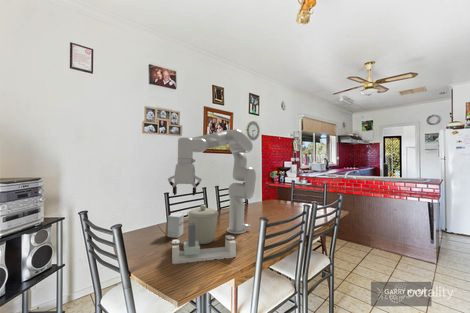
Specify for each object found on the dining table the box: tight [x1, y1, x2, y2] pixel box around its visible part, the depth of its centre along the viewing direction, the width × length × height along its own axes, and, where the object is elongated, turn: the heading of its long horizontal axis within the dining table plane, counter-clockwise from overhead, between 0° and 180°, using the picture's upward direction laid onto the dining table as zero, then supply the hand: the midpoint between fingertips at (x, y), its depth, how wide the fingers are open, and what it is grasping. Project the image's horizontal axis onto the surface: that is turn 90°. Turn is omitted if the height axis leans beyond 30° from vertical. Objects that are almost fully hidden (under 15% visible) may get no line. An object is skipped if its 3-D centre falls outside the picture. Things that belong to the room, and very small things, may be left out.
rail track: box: [170, 235, 237, 265], centre depth 114 cm, size 32×10×8 cm, turn 105°
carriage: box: [183, 222, 201, 255], centre depth 112 cm, size 7×9×13 cm
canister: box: [186, 204, 219, 245], centre depth 134 cm, size 18×18×21 cm
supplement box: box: [167, 213, 185, 239], centre depth 142 cm, size 7×7×13 cm
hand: (184, 194), depth 119 cm, fingers open, 9 cm apart
